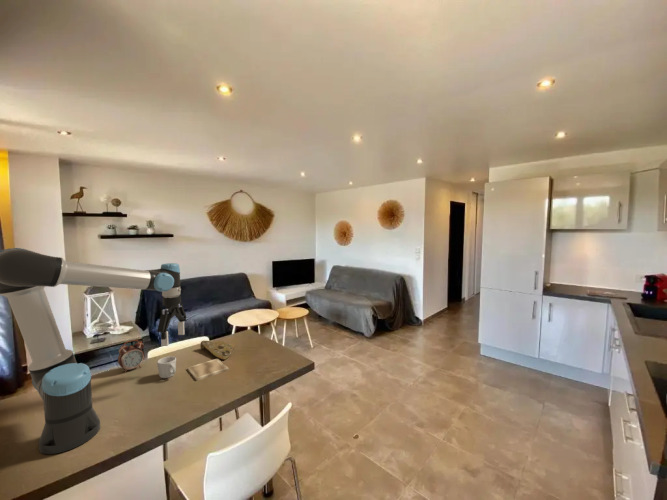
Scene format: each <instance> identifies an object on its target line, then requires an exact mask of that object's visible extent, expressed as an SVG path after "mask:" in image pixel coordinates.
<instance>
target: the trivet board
mask: <svg viewBox="0 0 667 500" xmlns="http://www.w3.org/2000/svg"><path fill="white" fill-rule="evenodd" d="M187 371H188V372H189V373H190V375H191V376H192V377H193V378H194V380H195V381H200V380H203V379H206V378H209V377H212V376H216V375H219V374H220V373H223V372H226V371H229V367H228V366H227V365H226V364H224V363H223V362H222V361H221V359H220V358H217V357H216V358H215V359H211V360H208V361H204V362H201V363H198V364H194V365H192V366H191V365H190V366H188V367H187Z"/></svg>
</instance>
